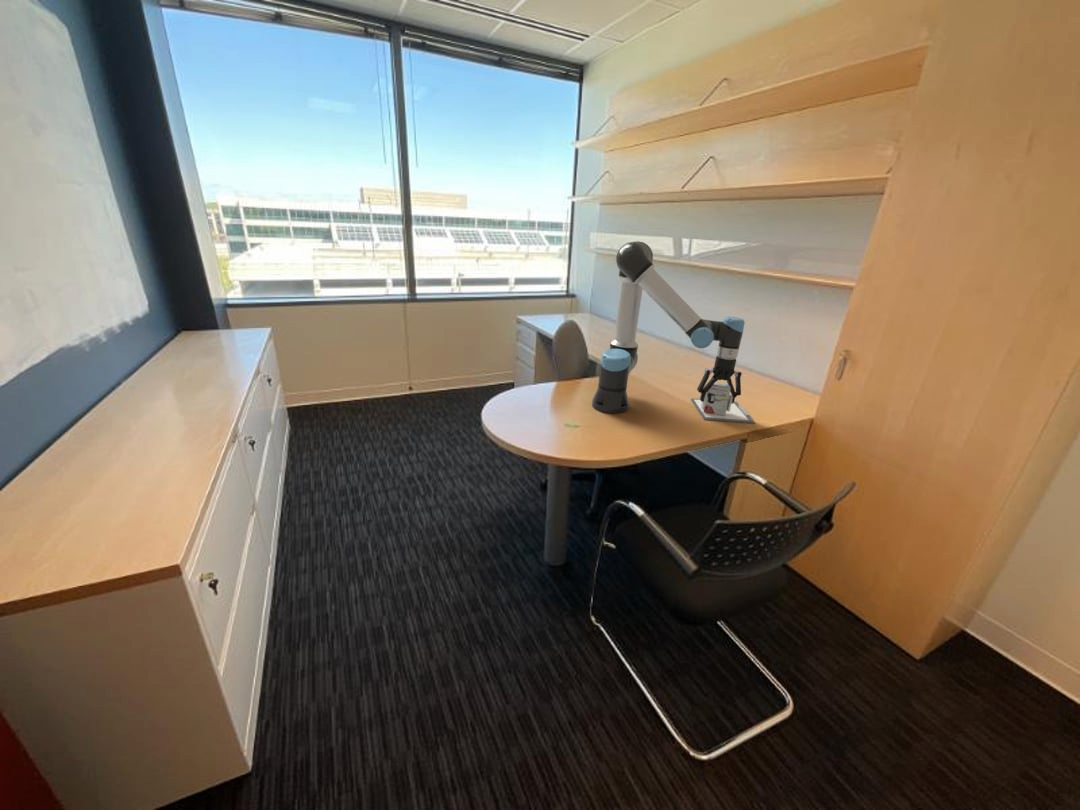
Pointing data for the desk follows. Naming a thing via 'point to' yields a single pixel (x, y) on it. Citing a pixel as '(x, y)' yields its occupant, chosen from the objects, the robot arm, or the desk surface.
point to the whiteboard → (734, 415)
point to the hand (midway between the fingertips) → (714, 409)
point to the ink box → (717, 399)
